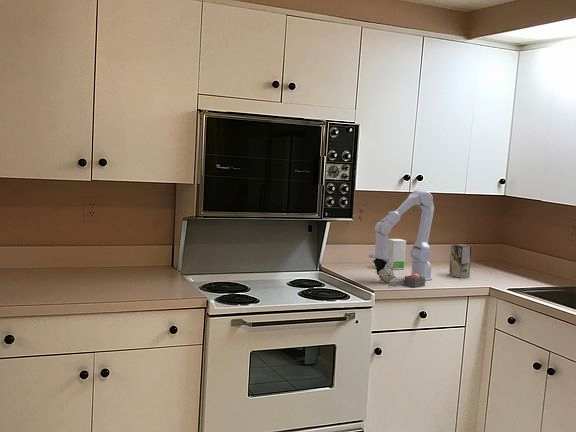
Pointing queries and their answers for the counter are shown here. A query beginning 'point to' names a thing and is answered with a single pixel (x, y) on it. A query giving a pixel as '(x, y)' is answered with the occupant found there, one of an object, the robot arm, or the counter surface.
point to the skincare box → (396, 253)
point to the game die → (386, 274)
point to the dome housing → (414, 281)
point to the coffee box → (460, 260)
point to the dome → (415, 276)
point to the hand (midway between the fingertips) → (379, 274)
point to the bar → (396, 282)
